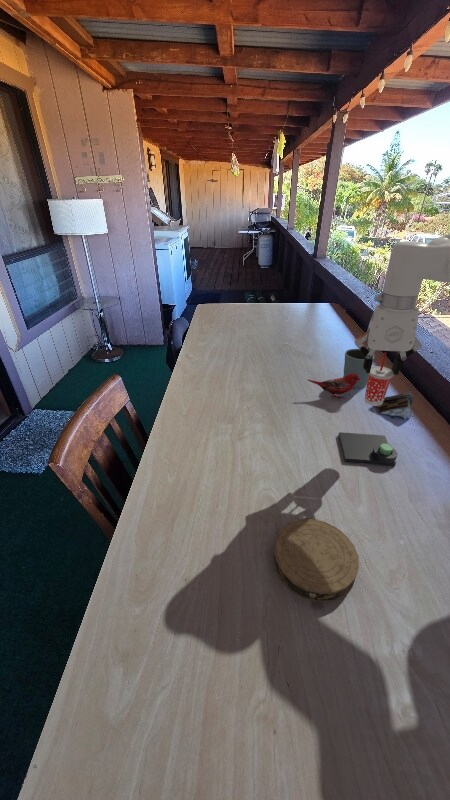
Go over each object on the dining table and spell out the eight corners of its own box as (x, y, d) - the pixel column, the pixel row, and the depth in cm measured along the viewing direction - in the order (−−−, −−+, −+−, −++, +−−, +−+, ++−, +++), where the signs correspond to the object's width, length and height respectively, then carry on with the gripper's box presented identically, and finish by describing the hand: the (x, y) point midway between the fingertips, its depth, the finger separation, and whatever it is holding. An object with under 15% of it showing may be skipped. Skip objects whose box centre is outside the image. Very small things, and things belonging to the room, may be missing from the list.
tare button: (389, 449, 95) (390, 443, 94) (392, 456, 92) (393, 451, 91) (377, 448, 95) (379, 443, 94) (380, 455, 93) (382, 450, 92)
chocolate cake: (372, 416, 114) (407, 401, 106) (371, 400, 118) (405, 385, 110) (389, 431, 117) (425, 418, 109) (387, 416, 122) (422, 402, 114)
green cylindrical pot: (368, 391, 127) (375, 361, 121) (339, 387, 130) (344, 357, 124) (367, 379, 135) (374, 350, 129) (340, 375, 138) (345, 347, 132)
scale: (385, 439, 103) (387, 431, 101) (397, 467, 92) (400, 459, 91) (338, 435, 104) (339, 427, 103) (344, 463, 94) (346, 454, 92)
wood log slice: (369, 558, 70) (372, 548, 68) (332, 621, 59) (334, 612, 58) (300, 516, 79) (301, 506, 77) (257, 564, 69) (258, 555, 67)
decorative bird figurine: (357, 401, 121) (362, 376, 116) (305, 396, 124) (308, 371, 119) (356, 397, 123) (361, 372, 118) (305, 392, 127) (308, 368, 121)
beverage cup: (374, 393, 97) (386, 346, 90) (390, 404, 92) (404, 355, 85) (356, 398, 95) (366, 350, 88) (372, 409, 90) (384, 359, 83)
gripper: (362, 304, 78) (348, 376, 87) (445, 306, 76) (421, 380, 85) (356, 295, 84) (343, 363, 93) (432, 297, 82) (411, 367, 91)
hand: (380, 371), depth 89 cm, fingers closed on beverage cup, 6 cm apart
